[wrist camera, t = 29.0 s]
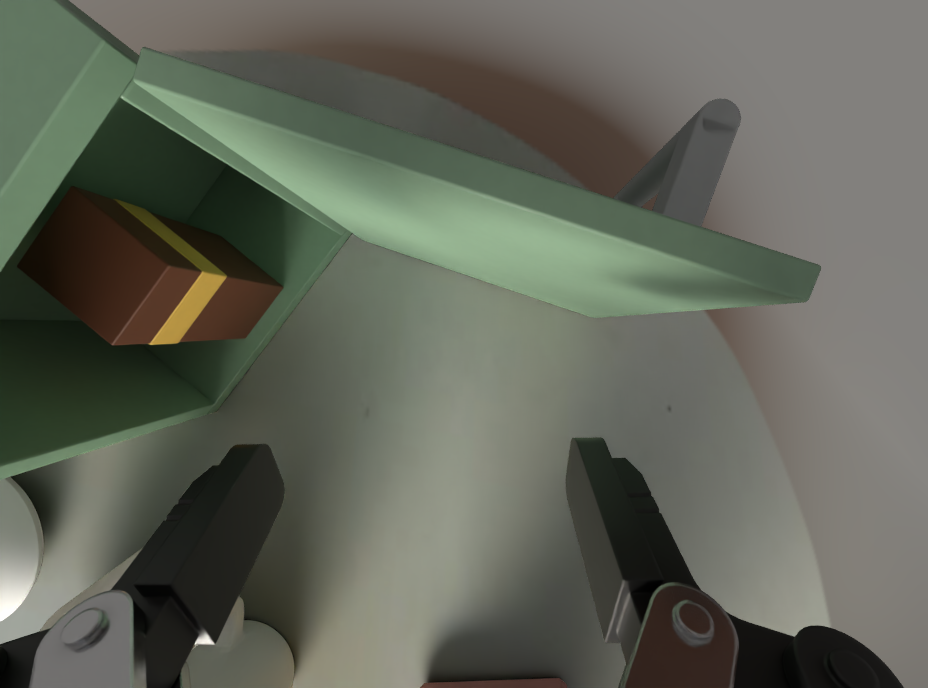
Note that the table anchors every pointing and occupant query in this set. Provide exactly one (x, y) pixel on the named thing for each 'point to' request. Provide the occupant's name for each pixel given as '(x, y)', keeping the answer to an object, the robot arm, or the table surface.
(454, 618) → the table surface
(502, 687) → the yellow alarm clock
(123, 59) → the cupboard
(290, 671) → the mug
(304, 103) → the cupboard door
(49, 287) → the chocolate box
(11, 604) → the flower in vase
